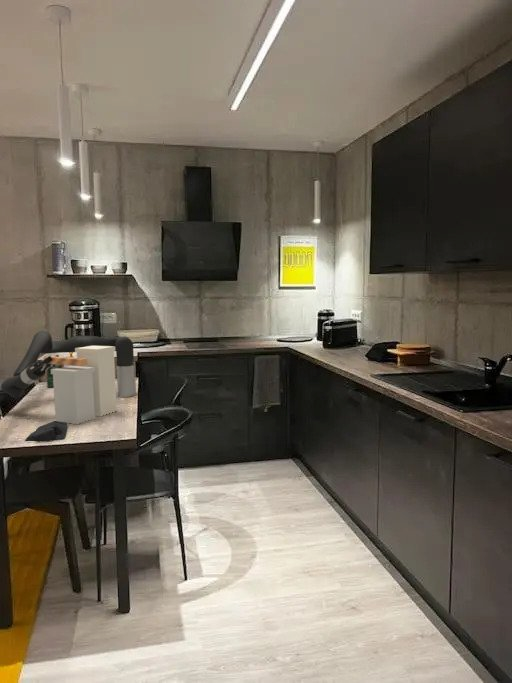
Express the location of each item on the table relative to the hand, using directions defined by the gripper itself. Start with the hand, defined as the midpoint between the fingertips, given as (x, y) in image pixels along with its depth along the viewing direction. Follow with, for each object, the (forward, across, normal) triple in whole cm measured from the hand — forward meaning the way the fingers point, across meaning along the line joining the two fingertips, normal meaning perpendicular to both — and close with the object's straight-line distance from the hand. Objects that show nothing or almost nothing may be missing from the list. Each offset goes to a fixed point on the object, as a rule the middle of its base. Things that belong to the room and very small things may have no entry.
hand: (54, 357), depth 234 cm
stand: (-5, +15, +30) cm, 34 cm away
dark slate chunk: (+1, -21, +34) cm, 40 cm away
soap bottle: (-54, +55, +3) cm, 77 cm away
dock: (-5, 0, +30) cm, 31 cm away
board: (+4, 0, +6) cm, 7 cm away
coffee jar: (-69, +58, -6) cm, 90 cm away
